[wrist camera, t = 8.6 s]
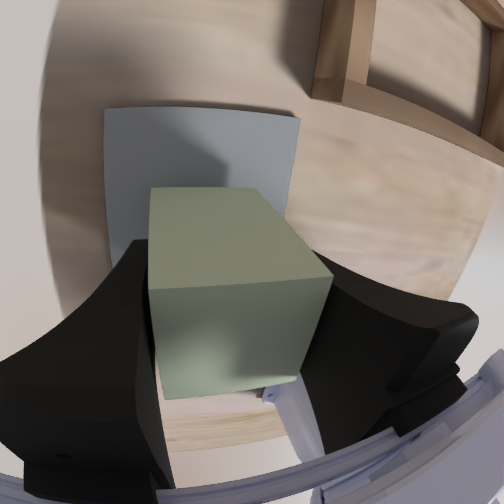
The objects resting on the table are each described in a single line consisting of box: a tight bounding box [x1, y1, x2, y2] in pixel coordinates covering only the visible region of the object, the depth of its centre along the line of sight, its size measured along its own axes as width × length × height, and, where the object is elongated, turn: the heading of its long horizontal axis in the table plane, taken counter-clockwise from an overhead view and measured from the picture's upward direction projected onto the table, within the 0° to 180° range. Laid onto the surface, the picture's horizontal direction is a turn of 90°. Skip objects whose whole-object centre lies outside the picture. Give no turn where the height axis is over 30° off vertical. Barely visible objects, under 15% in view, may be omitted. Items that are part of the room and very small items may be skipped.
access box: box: [310, 0, 504, 167], centre depth 10 cm, size 12×16×2 cm
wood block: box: [148, 187, 334, 400], centre depth 9 cm, size 4×4×6 cm
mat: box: [104, 107, 301, 268], centre depth 13 cm, size 10×8×1 cm
